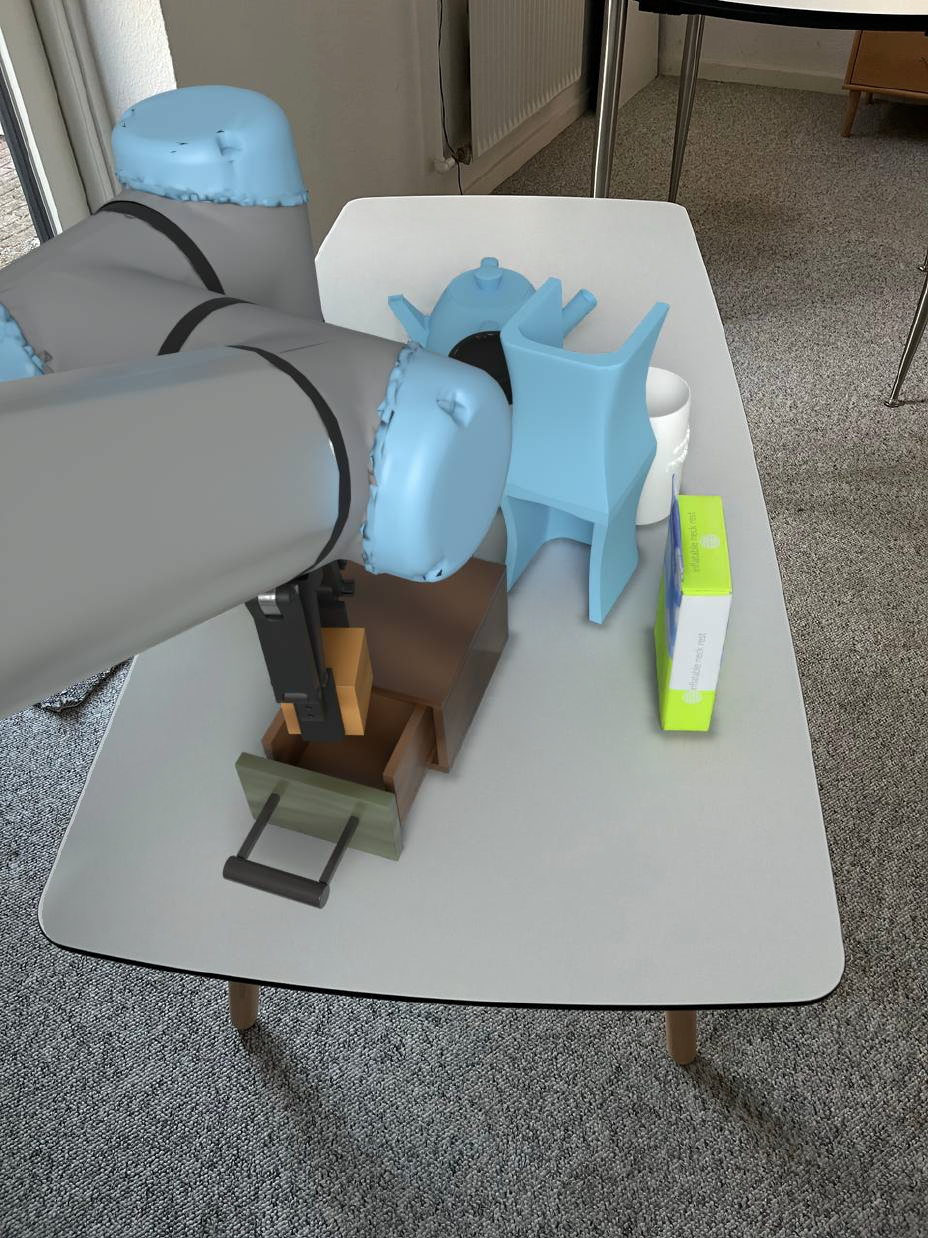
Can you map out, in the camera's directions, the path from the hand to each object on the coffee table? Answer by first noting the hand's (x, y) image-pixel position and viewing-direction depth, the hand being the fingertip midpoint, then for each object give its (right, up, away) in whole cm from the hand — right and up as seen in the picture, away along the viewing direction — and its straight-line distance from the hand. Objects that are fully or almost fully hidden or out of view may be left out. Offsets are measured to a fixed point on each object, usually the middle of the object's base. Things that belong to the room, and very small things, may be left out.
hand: (330, 702), depth 72 cm
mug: (+26, +18, +31) cm, 45 cm away
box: (+26, 0, +14) cm, 30 cm away
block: (0, 0, 0) cm, 0 cm away
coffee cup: (+12, +18, +32) cm, 39 cm away
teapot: (+12, +33, +47) cm, 59 cm away
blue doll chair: (+19, +10, +24) cm, 32 cm away
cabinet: (+4, 0, +15) cm, 16 cm away
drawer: (0, -8, +7) cm, 10 cm away
